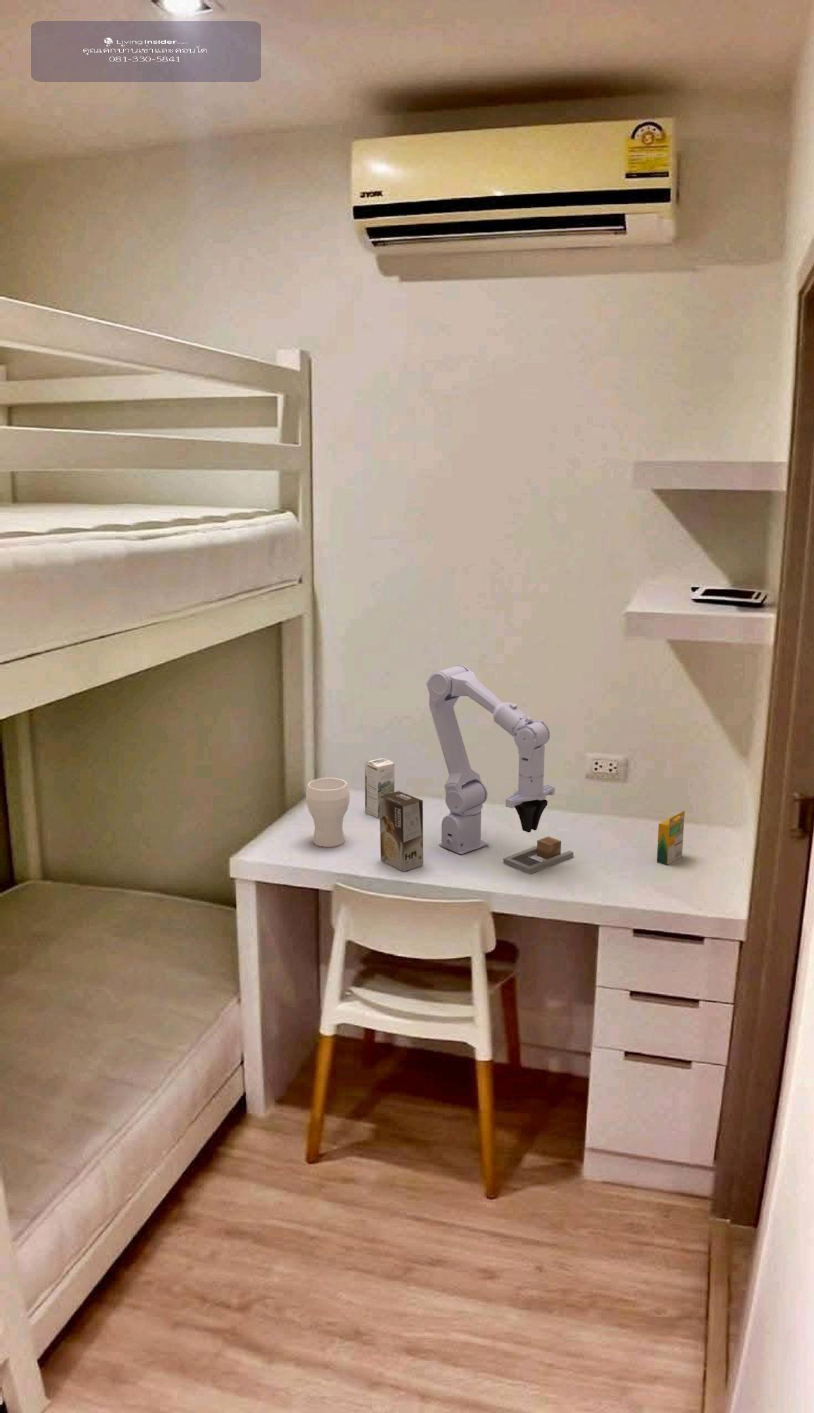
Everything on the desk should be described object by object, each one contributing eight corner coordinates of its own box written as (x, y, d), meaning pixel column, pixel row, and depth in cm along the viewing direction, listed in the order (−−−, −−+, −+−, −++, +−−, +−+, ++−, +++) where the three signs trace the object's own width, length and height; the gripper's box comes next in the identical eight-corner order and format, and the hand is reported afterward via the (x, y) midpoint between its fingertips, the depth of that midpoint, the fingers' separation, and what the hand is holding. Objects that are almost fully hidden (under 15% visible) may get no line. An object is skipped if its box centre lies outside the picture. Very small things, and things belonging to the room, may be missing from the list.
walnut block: (549, 861, 237) (549, 845, 236) (536, 856, 239) (537, 840, 238) (560, 856, 239) (561, 841, 238) (547, 851, 242) (548, 836, 241)
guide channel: (529, 874, 229) (529, 869, 229) (503, 862, 235) (503, 858, 235) (573, 856, 239) (573, 852, 238) (546, 846, 245) (546, 842, 245)
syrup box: (381, 808, 272) (380, 756, 268) (395, 813, 267) (394, 761, 264) (364, 812, 268) (363, 761, 265) (378, 818, 264) (377, 766, 260)
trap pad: (532, 868, 232) (532, 867, 232) (516, 862, 236) (516, 860, 236) (543, 864, 235) (543, 862, 234) (528, 857, 238) (528, 856, 238)
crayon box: (671, 853, 241) (674, 807, 238) (682, 856, 239) (685, 810, 236) (655, 862, 236) (658, 815, 233) (667, 865, 234) (670, 818, 231)
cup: (306, 849, 243) (304, 791, 240) (308, 833, 254) (307, 777, 250) (349, 849, 244) (348, 790, 240) (350, 833, 254) (349, 776, 250)
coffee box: (424, 865, 234) (424, 800, 230) (403, 872, 230) (403, 806, 226) (399, 853, 241) (399, 790, 237) (378, 860, 237) (378, 796, 233)
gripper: (522, 785, 222) (520, 842, 225) (565, 771, 231) (563, 827, 234) (499, 777, 227) (498, 833, 230) (542, 764, 236) (540, 819, 240)
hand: (529, 830), depth 233 cm, fingers closed
